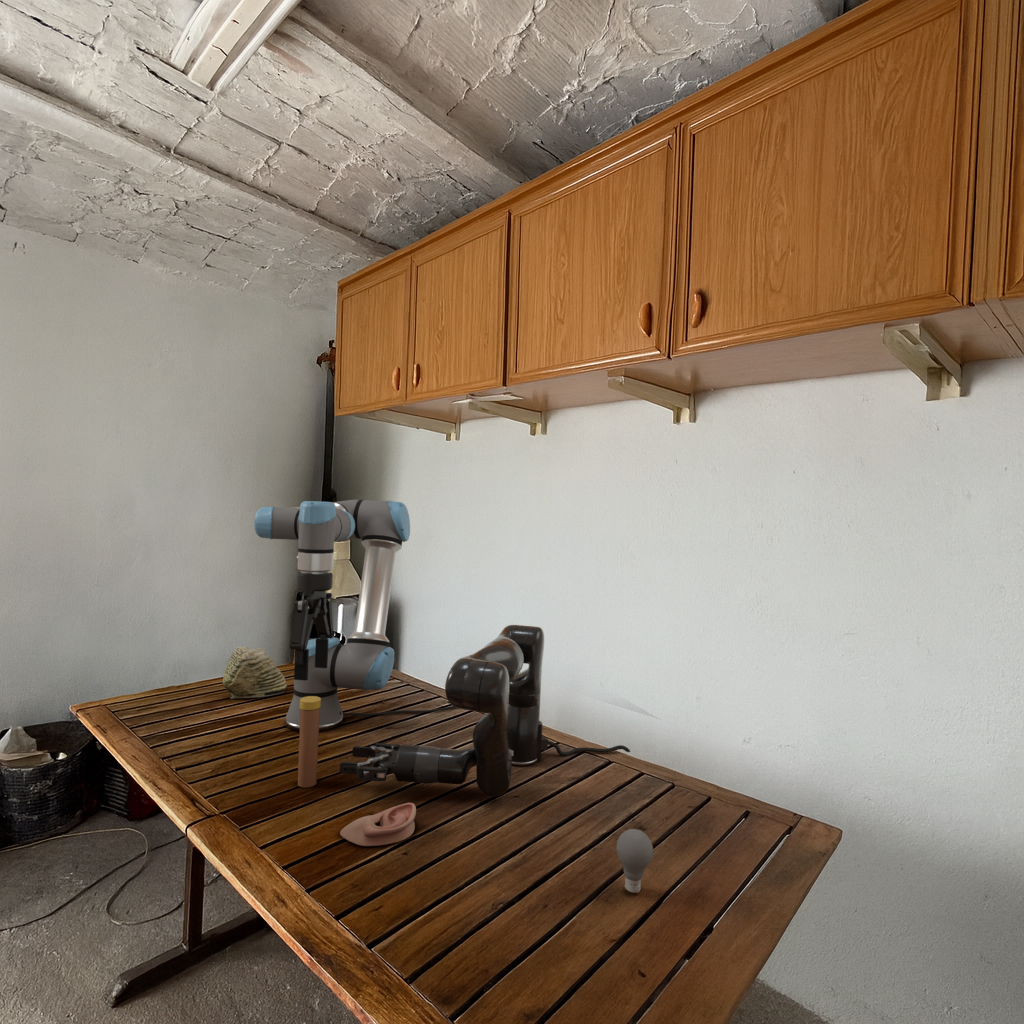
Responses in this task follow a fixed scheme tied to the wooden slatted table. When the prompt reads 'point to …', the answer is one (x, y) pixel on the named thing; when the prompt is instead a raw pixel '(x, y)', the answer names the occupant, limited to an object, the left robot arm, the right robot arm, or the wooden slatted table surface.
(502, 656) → the right robot arm
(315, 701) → the lid
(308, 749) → the brown long cylinder
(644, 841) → the light bulb
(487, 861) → the wooden slatted table surface
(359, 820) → the anatomical model
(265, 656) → the fossil
